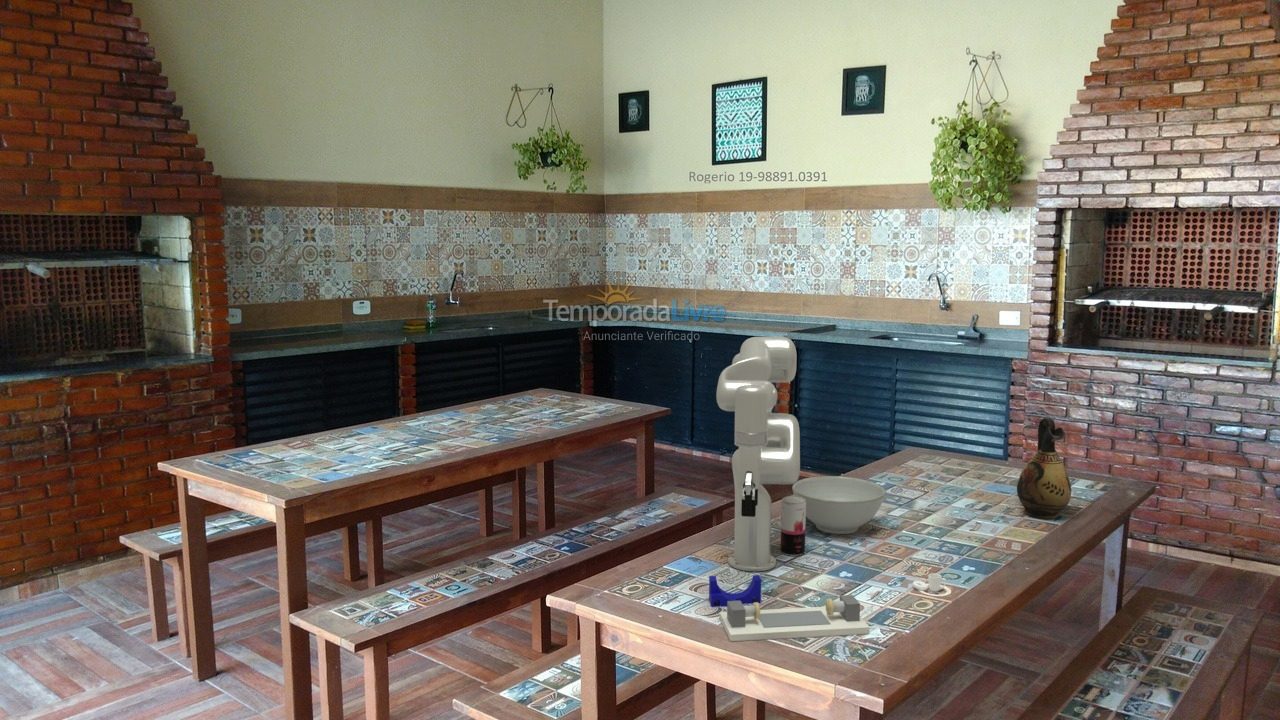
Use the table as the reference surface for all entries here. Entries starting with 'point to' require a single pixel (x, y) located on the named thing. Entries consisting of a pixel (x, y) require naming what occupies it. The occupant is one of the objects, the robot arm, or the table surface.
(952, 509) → the table surface
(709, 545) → the table surface
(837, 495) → the decorative bowl
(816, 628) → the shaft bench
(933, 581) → the teacup and saucer
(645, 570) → the table surface
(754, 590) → the blue cradle bracket
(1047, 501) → the ceramic jug
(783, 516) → the beverage can
